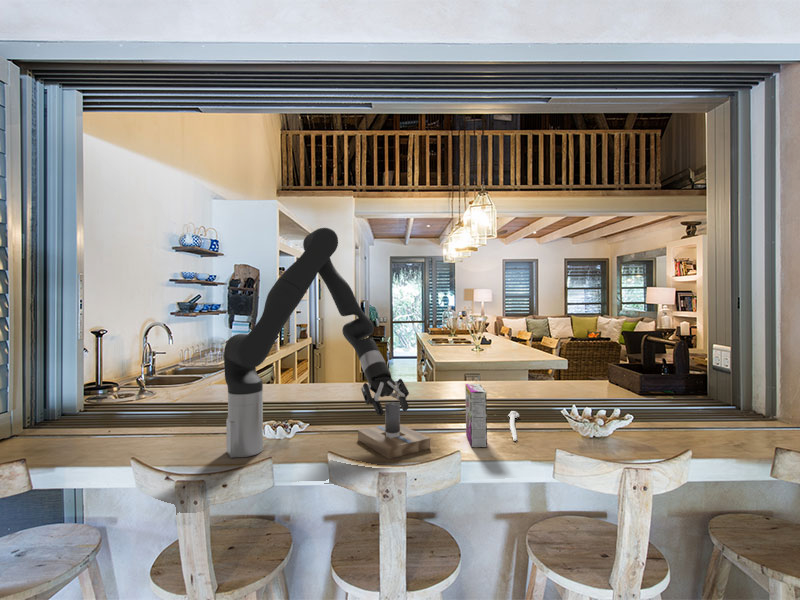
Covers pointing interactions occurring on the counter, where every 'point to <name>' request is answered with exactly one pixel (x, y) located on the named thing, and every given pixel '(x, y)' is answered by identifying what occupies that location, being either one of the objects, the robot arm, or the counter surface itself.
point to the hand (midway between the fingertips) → (394, 412)
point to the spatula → (513, 424)
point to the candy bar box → (476, 415)
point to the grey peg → (392, 419)
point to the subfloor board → (394, 441)
